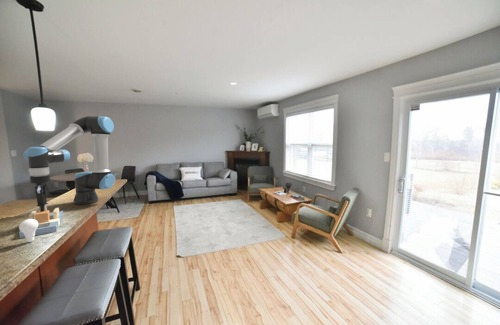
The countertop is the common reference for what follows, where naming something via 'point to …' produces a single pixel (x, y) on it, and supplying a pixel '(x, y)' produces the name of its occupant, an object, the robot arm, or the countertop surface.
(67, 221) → the countertop surface
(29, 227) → the lightbulb
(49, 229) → the tunnel deck
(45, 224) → the pad
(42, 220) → the block
